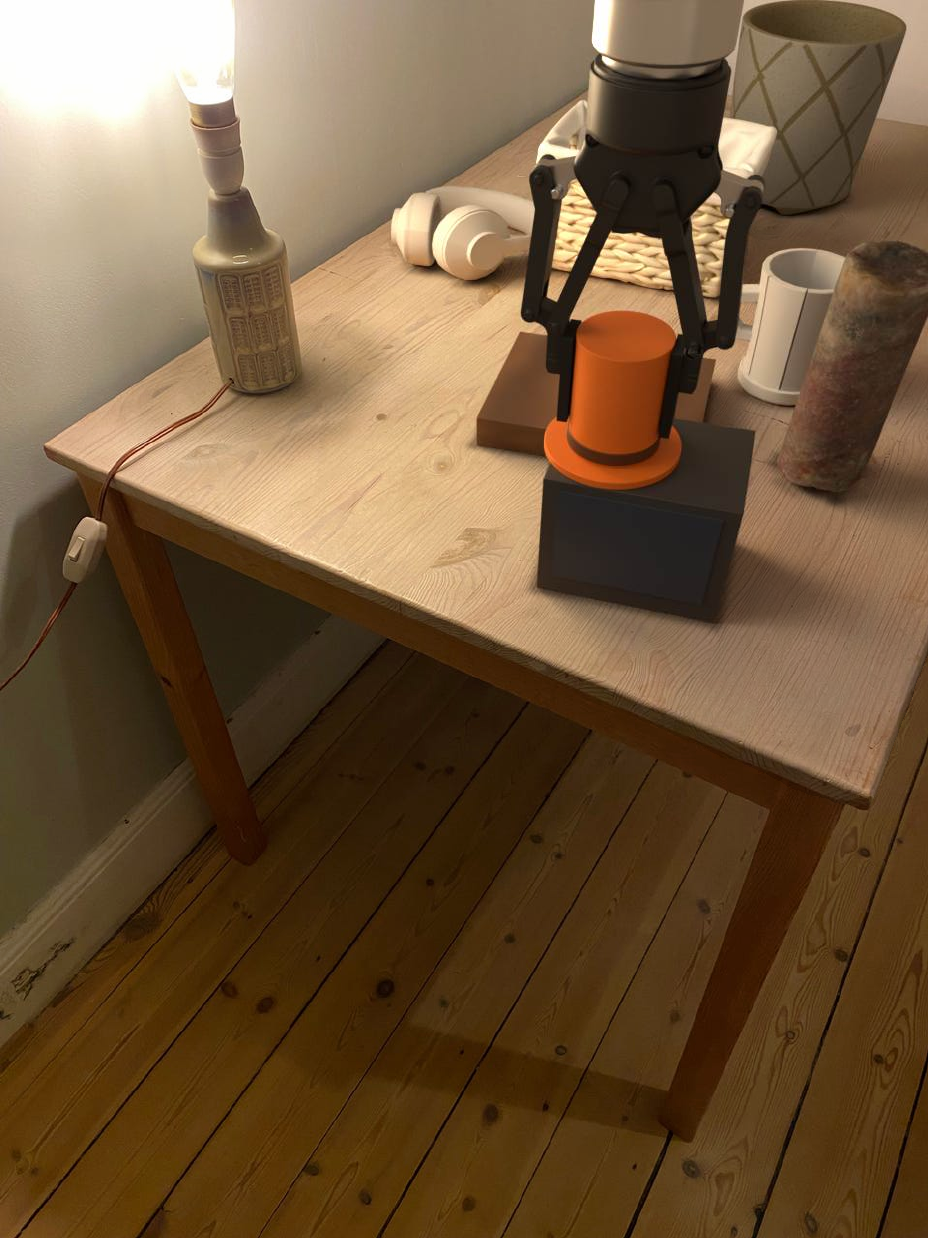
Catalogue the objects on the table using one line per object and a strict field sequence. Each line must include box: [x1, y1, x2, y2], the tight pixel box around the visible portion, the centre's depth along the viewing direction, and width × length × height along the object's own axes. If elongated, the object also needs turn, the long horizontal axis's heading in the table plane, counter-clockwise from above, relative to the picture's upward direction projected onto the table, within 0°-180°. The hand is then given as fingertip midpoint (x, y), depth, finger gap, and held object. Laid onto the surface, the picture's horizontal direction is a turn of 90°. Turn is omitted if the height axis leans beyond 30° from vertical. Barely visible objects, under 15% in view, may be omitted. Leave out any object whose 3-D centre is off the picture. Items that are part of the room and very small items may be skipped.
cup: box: [735, 247, 846, 407], centre depth 88 cm, size 10×9×12 cm
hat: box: [544, 310, 682, 490], centre depth 64 cm, size 10×10×9 cm
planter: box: [728, 0, 907, 216], centre depth 117 cm, size 19×19×20 cm
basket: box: [535, 99, 777, 298], centre depth 105 cm, size 24×16×15 cm
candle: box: [776, 240, 928, 493], centre depth 75 cm, size 8×7×20 cm
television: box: [536, 418, 757, 624], centre depth 71 cm, size 14×10×11 cm
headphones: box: [390, 185, 535, 281], centre depth 111 cm, size 18×8×20 cm
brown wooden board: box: [475, 331, 717, 457], centre depth 88 cm, size 20×16×3 cm
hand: (615, 418), depth 65 cm, fingers closed on hat, 7 cm apart
